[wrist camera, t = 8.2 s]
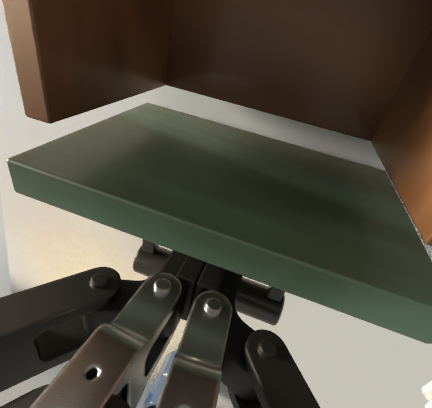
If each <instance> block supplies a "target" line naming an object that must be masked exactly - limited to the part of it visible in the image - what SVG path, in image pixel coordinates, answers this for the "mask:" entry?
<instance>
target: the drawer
mask: <svg viewBox="0 0 432 408" xmlns="http://www.w3.org/2000/svg"><path fill="white" fill-rule="evenodd" d="M2 5H3V10H4V14H5V19H6V24H7V29H8V34H9V38H10V43H11V48H12V53H13V57H14V62H15V67H16V72H17V76H18V81H19V86H20V91H21V96H22V100H23V105H24V110H25V114H26V116H27V117H30V118H34V119H37V120H40V121H43V122H46V123H54V122H57V121H60V120H63V119H66V118H69V117H72V116H75V115H78V114H81V113H84V112H87V111H90V110H93V109H96V108H99V107H102V106H105V105H108V104H111V103H114V102H117V101H120V100H123V99H126V98H129V97H132V96H135V95H138V94H141V93H144V92H147V91H150V90H153V89H156V88H159V87H162V86H165V85H168V86H172V87H176V88H179V89H183V90H186V91H190V92H194V93H197V94H201V95H205V96H208V97H212V98H216V99H219V100H223V101H226V102H230V103H234V104H237V105H241V106H245V107H248V108H252V109H256V110H259V111H263V112H267V113H270V114H274V115H277V116H281V117H285V118H288V119H292V120H296V121H299V122H303V123H307V124H310V125H314V126H317V127H321V128H325V129H328V130H332V131H336V132H339V133H343V134H347V135H350V136H354V137H357V138H361V139H365V140H368V141H371V143H372V145H373V147H374V148H375V150H376V152H377V154H378V156H379V158H380V160H381V162H382V163H383V165H384V167H385V169H386V171H387V173H388V175H389V177H390V179H391V180H392V182H393V184H394V186H395V188H396V190H397V192H398V194H399V195H400V197H401V199H402V201H403V203H404V205H405V207H406V209H407V211H408V212H409V214H410V216H411V218H412V220H413V222H414V224H415V226H416V227H417V229H418V231H419V233H420V235H421V237H422V239H423V241H424V243H426V244H428V245H431V246H432V0H2ZM7 164H8V167H9V171H10V175H11V178H12V182H13V186H14V189H15V191H16V192H17V193H20V194H23V195H25V196H28V197H31V198H34V199H36V200H39V201H42V202H44V203H47V204H50V205H52V206H55V207H58V208H61V209H63V210H66V211H69V212H71V213H74V214H77V215H80V216H82V217H85V218H88V219H90V220H93V221H96V222H99V223H101V224H104V225H107V226H109V227H112V228H115V229H118V230H120V231H123V232H126V233H128V234H131V235H134V236H137V237H139V238H142V239H143V245H142V246H141V247H140V249H139V250H138V252H137V254H136V256H135V259H134V263H133V269H134V271H135V272H138V273H140V274H143V275H145V276H148V277H149V276H151V275H153V274H156V273H158V272H159V271H160V269H161V268H162V266H163V265H164V263H165V262H166V260H167V259H168V257H169V256H170V254H171V253H172V251H170V250H167V249H165V248H162V247H159V245H161V246H164V247H166V248H169V249H172V250H174V251H177V252H180V253H183V254H185V255H188V256H191V257H193V258H196V259H199V260H202V261H204V262H207V263H210V264H212V265H215V266H218V267H221V268H223V269H226V270H229V271H231V272H234V273H237V274H240V275H242V276H245V277H248V278H250V279H253V280H256V281H258V282H261V283H264V284H267V285H269V287H268V286H265V285H262V284H259V283H257V282H254V281H251V280H249V279H246V278H243V277H242V279H241V283H240V286H239V290H238V293H237V296H236V300H235V308H236V311H238V312H240V313H243V314H245V315H248V316H251V317H253V318H256V319H258V320H261V321H263V322H266V323H269V324H271V325H276V324H277V323H278V321H279V319H280V316H281V313H282V310H283V305H284V299H285V296H284V293H285V291H286V292H288V293H291V294H294V295H296V296H299V297H302V298H305V299H307V300H310V301H313V302H315V303H318V304H321V305H324V306H326V307H329V308H332V309H334V310H337V311H340V312H343V313H345V314H348V315H351V316H353V317H356V318H359V319H361V320H364V321H367V322H370V323H372V324H375V325H378V326H380V327H383V328H386V329H389V330H391V331H394V332H397V333H399V334H402V335H405V336H408V337H410V338H413V339H416V340H418V341H421V342H424V343H427V344H432V261H431V259H430V257H429V255H428V253H427V251H426V249H425V247H424V246H423V244H422V242H421V240H420V238H419V236H418V234H417V232H416V230H415V228H414V226H413V224H412V222H411V220H410V219H409V217H408V215H407V213H406V211H405V209H404V207H403V205H402V203H401V201H400V199H399V197H398V195H397V193H396V192H395V190H394V188H393V186H392V184H391V182H390V180H389V178H388V176H387V174H386V172H385V171H383V170H379V169H376V168H372V167H369V166H365V165H362V164H358V163H355V162H352V161H348V160H345V159H341V158H338V157H334V156H331V155H327V154H324V153H320V152H317V151H313V150H310V149H306V148H303V147H299V146H296V145H293V144H289V143H286V142H282V141H279V140H275V139H272V138H268V137H265V136H261V135H258V134H254V133H251V132H247V131H244V130H240V129H237V128H234V127H230V126H227V125H223V124H220V123H216V122H213V121H209V120H206V119H202V118H199V117H195V116H192V115H188V114H185V113H182V112H178V111H175V110H171V109H168V108H164V107H161V106H157V105H154V104H150V103H145V104H143V105H140V106H138V107H135V108H133V109H130V110H128V111H125V112H123V113H120V114H118V115H115V116H113V117H110V118H108V119H105V120H103V121H100V122H98V123H96V124H93V125H91V126H88V127H86V128H83V129H81V130H78V131H76V132H73V133H71V134H68V135H66V136H63V137H61V138H58V139H56V140H53V141H51V142H48V143H46V144H43V145H41V146H38V147H36V148H33V149H31V150H28V151H26V152H23V153H21V154H18V155H16V156H13V157H11V158H8V159H7Z"/></svg>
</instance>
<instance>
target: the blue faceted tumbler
mask: <svg viewBox="0 0 432 408" xmlns="http://www.w3.org/2000/svg"><path fill="white" fill-rule="evenodd" d="M176 352H177V350H176V351H174V352H171V353H169V354H168V355H167V356H166V358H165V360H164V362H163V364H162V366H161V368H160V371H159V373H158V375H157V377H156V379H155V381H154V383H153V386H152V388H151V390H150V392H149V394H148V396H147V399H146V401H145V403H144V405H143V408H156V405H157V402H158V399H159V396H160V393H161V391H162V388H163V385H164V382H165V379H166V376H167V374H168V371H169V368H170V365H171V362H172V360H173V357H174V355H175V354H176Z"/></svg>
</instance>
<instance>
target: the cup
mask: <svg viewBox="0 0 432 408" xmlns="http://www.w3.org/2000/svg"><path fill="white" fill-rule="evenodd" d="M422 390H423V394H424V395H425V397H426V399H427V400H428V402H429V403H427V404H426V405H425V406H426V408H432V381H431V382H430V383H428V384H427V385H426V386H424V387H423V388H422Z"/></svg>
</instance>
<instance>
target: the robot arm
mask: <svg viewBox="0 0 432 408" xmlns="http://www.w3.org/2000/svg"><path fill="white" fill-rule="evenodd" d="M241 279H242V275H240V274H237V273H234V272H231V271H229V270H226V269H223V268H221V267H218V266H215V265H212V264H210V263H207V262H204V261H202V260H199V259H196V258H193V257H191V256H188V255H185V254H183V253H180V252H177V251H174V250H173V251H172V253H171V254H170V256H169V257H168V259H167V260H166V262H165V263H164V265H163V266H162V268H161V269H160V271H159V272H158V273H156V274H153V275H151V276H149V277H148V278H147V279H146V280H142V281H133V280H121V278H120V275H119V273H118V272H117V271H115V270H114V269H112V268H108V267H98V268H94V269H90V270H87V271H84V272H81V273H78V274H75V275H71V276H68V277H65V278H62V279H59V280H56V281H52V282H49V283H46V284H43V285H40V286H36V287H33V288H30V289H27V290H24V291H21V292H17V293H14V294H11V295H8V296H5V297H2V298H0V392H1V391H4V390H6V389H8V388H10V387H12V386H14V385H16V384H18V383H20V382H23V381H25V380H27V379H29V378H31V377H33V376H36V375H38V374H40V373H42V372H44V371H46V370H48V369H50V368H52V367H55V366H57V365H59V364H61V363H63V362H66V361H68V360H69V362H68V363H67V364H66V365H65V366H64V367H63V369H62V370H61V371H60V372H59V373H58V375H57V376H56V377H55V378H54V379H53V381H52V382H51V383H50V384H48V385H44V386H42V387H39V388H36V389H34V390H32V391H30V392H28V393H26V394H24V395H22V396H20V397H18V398H16V399H15V400H13V401H11V402H9V403H7V404H5V405H3V406H1V407H0V408H136V407H137V404H138V403H139V400H140V398H141V396H142V393H143V391H144V388H145V385H146V383H147V381H148V379H149V378H150V376H151V374H152V372H153V370H154V369H155V367H156V365H157V363H158V362H159V360H160V358H161V356H162V354H163V353H164V351H165V349H166V347H167V346H168V344H169V342H170V340H171V338H172V337H173V334H174V331H175V329H176V327H177V325H178V323H179V321H180V319H184V320H186V321H187V319H188V321H187V324H186V326H185V329H184V332H183V335H182V338H181V341H180V344H179V347H178V349H177V352H176V354H175V355H174V357H173V360H172V362H171V365H170V368H169V371H168V374H167V376H166V379H165V382H164V385H163V388H162V391H161V393H160V396H159V399H158V402H157V405H156V408H216V404H217V399H218V393H219V388H220V383H221V381H222V382H223V383H224V384H225V385H226V386H227V387H228V392H229V396H230V398H231V401H232V404H233V407H234V408H320V406H319V405H318V403H317V401H316V399H315V397H314V396H313V394H312V392H311V390H310V388H309V387H308V385H307V383H306V381H305V380H304V378H303V376H302V374H301V372H300V371H299V369H298V367H297V365H296V363H295V362H294V360H293V358H292V356H291V354H290V353H289V351H288V349H287V347H286V345H285V344H284V342H283V341H282V340H281V338H280V337H278V336H277V335H276V334H275V333H273V332H271V331H268V330H256V331H254V330H253V329H252V328H250V327H249V326H248V325H247V324H245V323H244V322H243V321H242V320H241V319H240V317H239V316H238V314H237V312H236V308H235V300H236V296H237V293H238V290H239V286H240V283H241ZM189 314H190V315H189ZM188 316H189V318H188Z"/></svg>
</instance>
